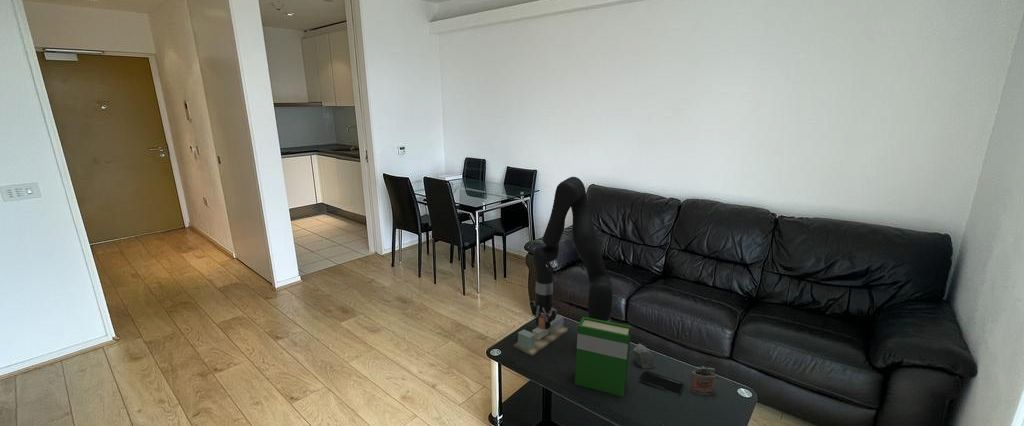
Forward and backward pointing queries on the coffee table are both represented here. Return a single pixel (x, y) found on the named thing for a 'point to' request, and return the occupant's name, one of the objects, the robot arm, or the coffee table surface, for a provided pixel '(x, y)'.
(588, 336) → the hardback book
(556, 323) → the aluminium sleeve
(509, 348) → the coffee table surface
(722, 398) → the coffee table surface
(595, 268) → the robot arm
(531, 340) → the sage socket
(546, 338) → the oak base
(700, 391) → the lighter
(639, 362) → the mineral specimen
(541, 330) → the tube
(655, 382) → the phone
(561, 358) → the coffee table surface
